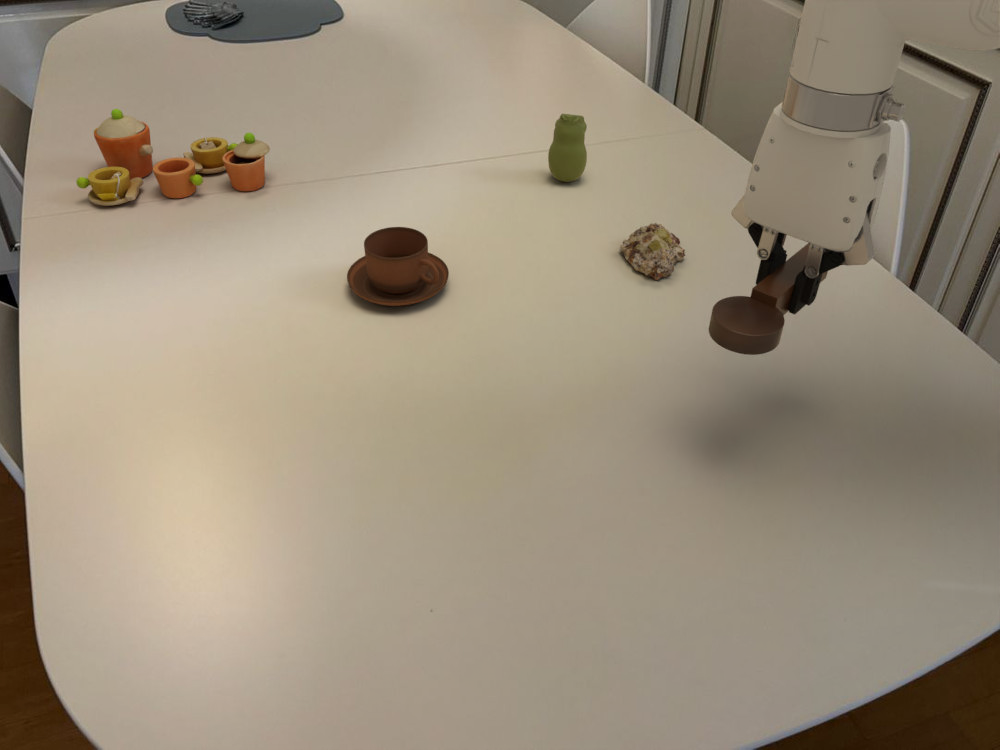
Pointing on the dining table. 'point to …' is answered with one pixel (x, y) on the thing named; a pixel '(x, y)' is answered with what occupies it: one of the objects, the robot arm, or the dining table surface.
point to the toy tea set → (167, 163)
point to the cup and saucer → (397, 268)
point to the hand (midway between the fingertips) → (782, 299)
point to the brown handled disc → (758, 311)
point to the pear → (568, 148)
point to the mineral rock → (653, 250)
